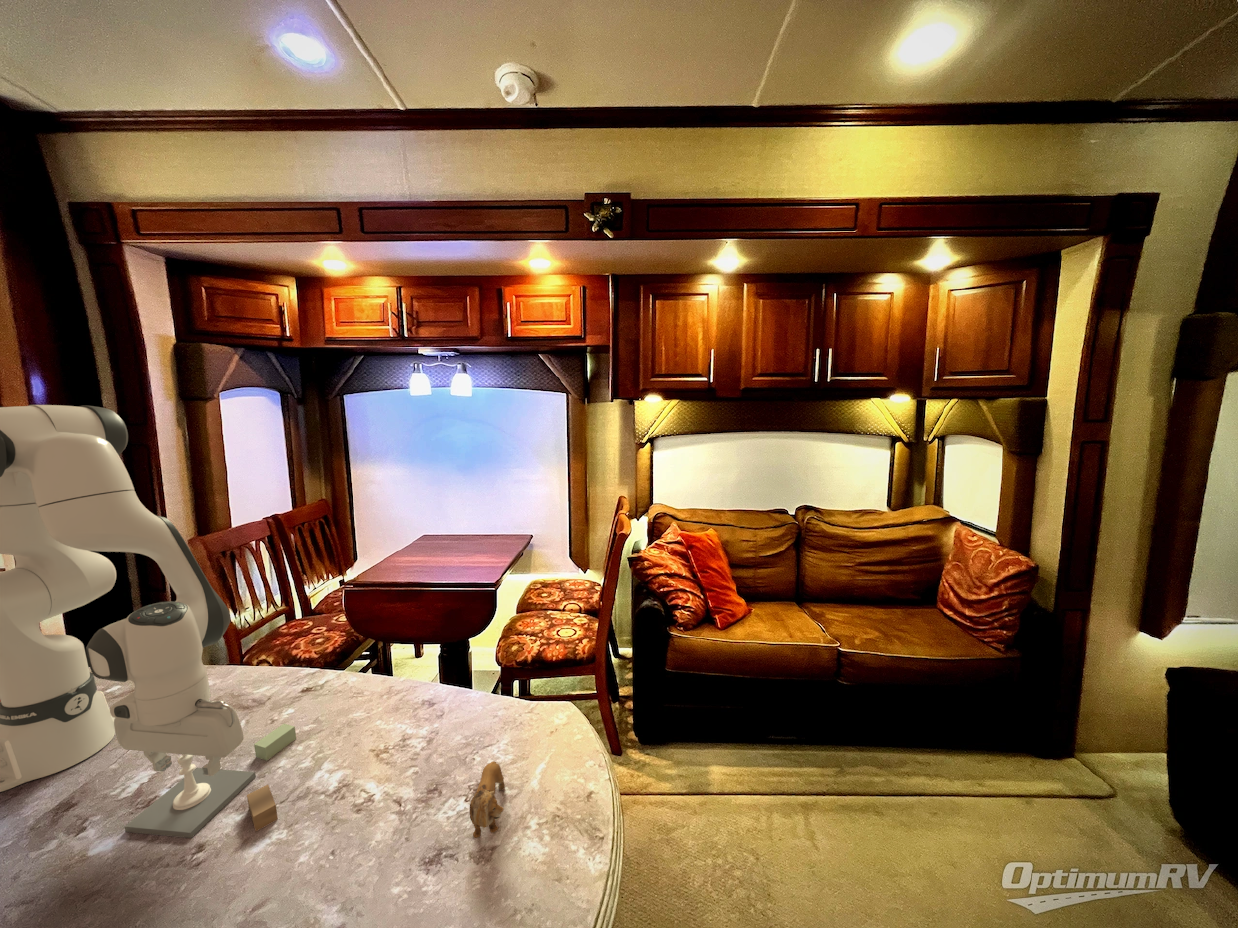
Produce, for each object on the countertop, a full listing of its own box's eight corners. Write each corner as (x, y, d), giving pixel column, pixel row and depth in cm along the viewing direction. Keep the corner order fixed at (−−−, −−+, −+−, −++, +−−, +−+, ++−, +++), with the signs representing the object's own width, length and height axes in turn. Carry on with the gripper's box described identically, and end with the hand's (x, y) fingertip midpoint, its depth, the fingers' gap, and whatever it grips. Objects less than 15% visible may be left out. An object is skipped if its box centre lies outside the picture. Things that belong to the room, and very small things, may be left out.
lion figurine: (505, 851, 72) (502, 801, 71) (469, 860, 71) (466, 809, 69) (505, 776, 86) (503, 733, 85) (475, 782, 85) (472, 738, 84)
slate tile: (125, 831, 76) (124, 826, 76) (197, 771, 88) (196, 767, 88) (191, 837, 75) (190, 832, 75) (255, 776, 87) (255, 771, 87)
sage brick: (267, 761, 91) (265, 747, 90) (256, 757, 92) (253, 744, 91) (296, 739, 96) (294, 726, 96) (285, 736, 97) (284, 723, 97)
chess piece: (190, 811, 79) (180, 759, 77) (164, 808, 79) (155, 756, 78) (218, 787, 83) (210, 737, 82) (194, 784, 84) (185, 735, 82)
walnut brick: (249, 809, 80) (246, 794, 80) (270, 798, 82) (268, 784, 82) (255, 832, 76) (253, 816, 76) (278, 820, 78) (275, 804, 78)
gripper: (247, 690, 80) (258, 760, 82) (142, 683, 82) (155, 752, 85) (212, 715, 74) (225, 790, 76) (99, 707, 76) (115, 781, 78)
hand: (187, 770), depth 80 cm, fingers open, 8 cm apart
